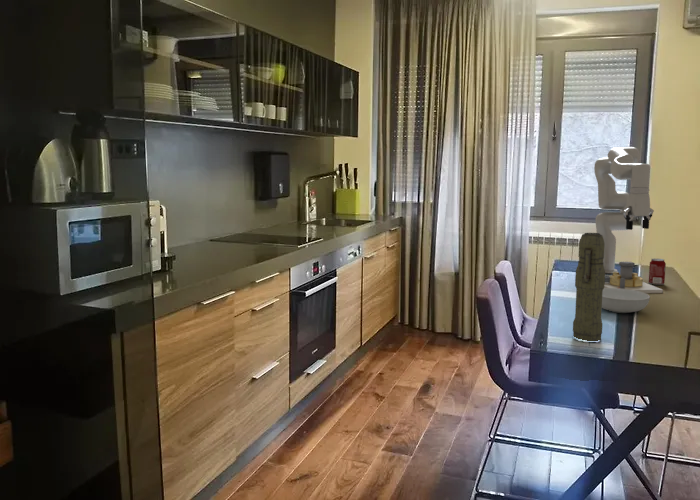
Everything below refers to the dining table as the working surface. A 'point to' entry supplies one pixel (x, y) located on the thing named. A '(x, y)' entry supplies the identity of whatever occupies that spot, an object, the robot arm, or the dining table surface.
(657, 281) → the soda can
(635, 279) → the tan ring with handle
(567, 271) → the dining table surface
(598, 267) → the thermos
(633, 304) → the serving bowl
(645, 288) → the hub plate
